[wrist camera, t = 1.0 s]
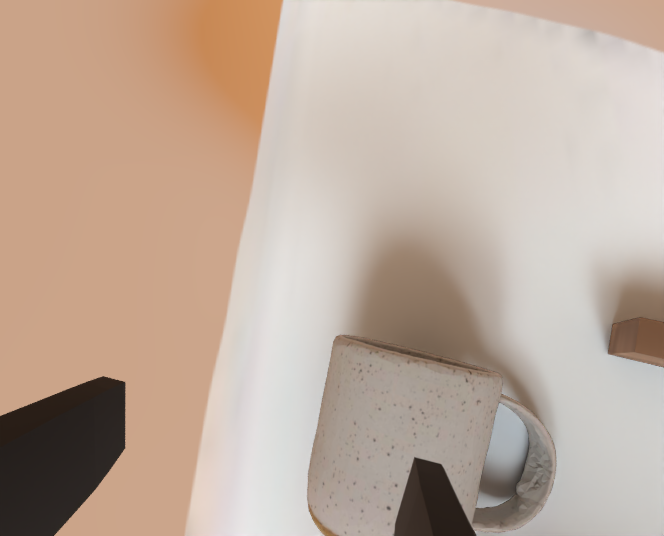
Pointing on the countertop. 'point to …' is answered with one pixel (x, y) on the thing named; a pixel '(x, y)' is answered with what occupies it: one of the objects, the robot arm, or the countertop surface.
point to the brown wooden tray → (638, 340)
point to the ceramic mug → (412, 438)
